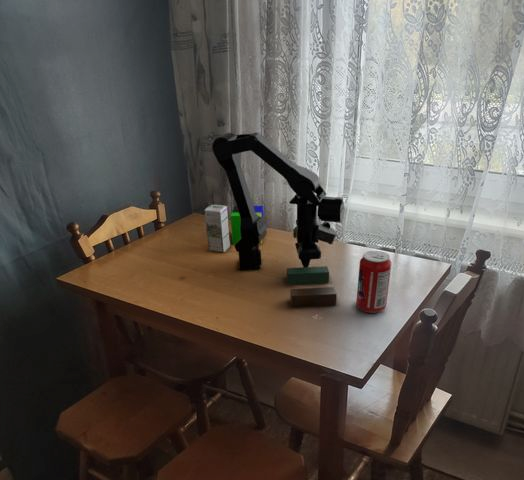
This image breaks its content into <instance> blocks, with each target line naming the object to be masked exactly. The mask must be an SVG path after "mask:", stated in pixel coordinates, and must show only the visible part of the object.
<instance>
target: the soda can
mask: <svg viewBox="0 0 524 480" xmlns="http://www.w3.org/2000/svg"><path fill="white" fill-rule="evenodd" d="M391 270H392V261H391V259H390V255H389V254H388V253H386V252H384V251H381V250H369V251H366V252H364V253H363V255H362V257H361V258H360V259H359V267H358V278H357V291H356V299H355V300H356V302H355V305H356V307H357V308H358V309H359V310H361V311H363V312H365V313H368V314H375V313H380V312H382V311H384V310H385V309H386V308H387V304H388V295H389V287H390V281H391V280H390V279H391Z"/></svg>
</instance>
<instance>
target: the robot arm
mask: <svg viewBox="0 0 524 480" xmlns="http://www.w3.org/2000/svg"><path fill="white" fill-rule="evenodd" d="M211 149H212V153H213V155H214V157H215V159H216V161H217V163H218V164H219V165H220V166H221V168H222V169H223V170H224V171H225V174H226V177H227V180H228V184H229V187H230V189H231V192H232V196H233V198H234V202H235V206H237V208H238V212H239V215H240V219H241V221H240V233H241V239H240V240H239V241H238V242H237V243H236V244H233V245H234V249H235V252H237V253H238V270H239V271H249V270H260V269H261V265H262V250H261V249H260V244H259V243H260V242H261V241H262V242H263V240H264V238H265V237H266V236H267V229H268V228H269V227H268V226H267V224H266V220H265V216H264V215H263V216H262V217H259V216H258V215H257V214H256V212H255V210H254V206H255V205H254V203H253V200H252V197H251V194H250V190H249V187H248V184H247V180H246V177H245V174H244V171H243V167H242V153H246V152H252V153H253V154H255V155H256V156H257V157H258V158H259V159H261V160H262V161H264V163H266V164H267V165H268V166H269V167H271V169H273V170H274V171H276V172H277V173H278V174H279V175H280V176H282V177H283V178H284V179H285V180H286V182H287V184H288V186H289V188H290V189H291V190H292V191H293V192H294V193H295V195H294V196H293V197H292V198H291V199H290V200H289V202H288V203H289V204H290V205H296V220H295V227H294V228H293V229H292V237H293V239H296V242H295V243H294V246H295V249H296V250H295V251H296V253H297V257H298V260H300V262H301V265H302V267H310V264H311V260H321V258H322V250H321V248H320V246H319V245H318V243H319V241H320V242H324V243H326V244H328V245H333V244H334V242H335V240H336V237H337V231H336V230H335V229H334V228H333V227H331V223H340V224H341V223H343V220H344V217H345V211H346V210H345V209H346V207H345V201H344V197H342V196H336V197H335V196H327V194H328V193H327V192H326V190H325V189H324V187H323V186H322V184H321V182H320V177H319V175H318V174H317V173H315V172H314V171H312V170H310V169H308V168H307V167H304V166H300V165H298V164H297V163H295V162H293V161H292V160H291V159H290V158H288V157H287V156H286V154H284V153H283V152H281V151H280V150H279V149H278V148H276V147H275V146H274V145H273V144H271V143H270V142H269V141H268V140H267V139H265V138H264V137H263V135H262V134H261V133H259V132H253V133H241V134H240V133H239V134H235V133H232V132H226V133H224V134H222V135H220V136H219V137H217V138H215V139H214V140H213V143H212V144H211ZM318 220H320V221H321V222H322V223H321V224H318Z"/></svg>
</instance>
